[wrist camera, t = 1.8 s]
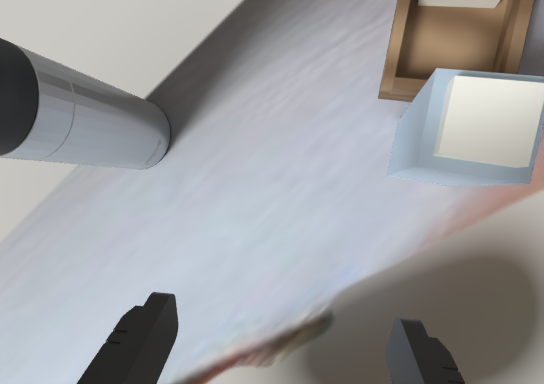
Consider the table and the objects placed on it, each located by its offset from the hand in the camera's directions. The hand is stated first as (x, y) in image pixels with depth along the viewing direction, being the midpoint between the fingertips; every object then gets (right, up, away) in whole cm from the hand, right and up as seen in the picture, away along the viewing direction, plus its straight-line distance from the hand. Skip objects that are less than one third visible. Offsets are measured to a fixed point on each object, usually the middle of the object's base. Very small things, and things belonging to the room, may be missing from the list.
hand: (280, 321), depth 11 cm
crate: (+18, +22, +20) cm, 35 cm away
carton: (+16, +9, +21) cm, 28 cm away
